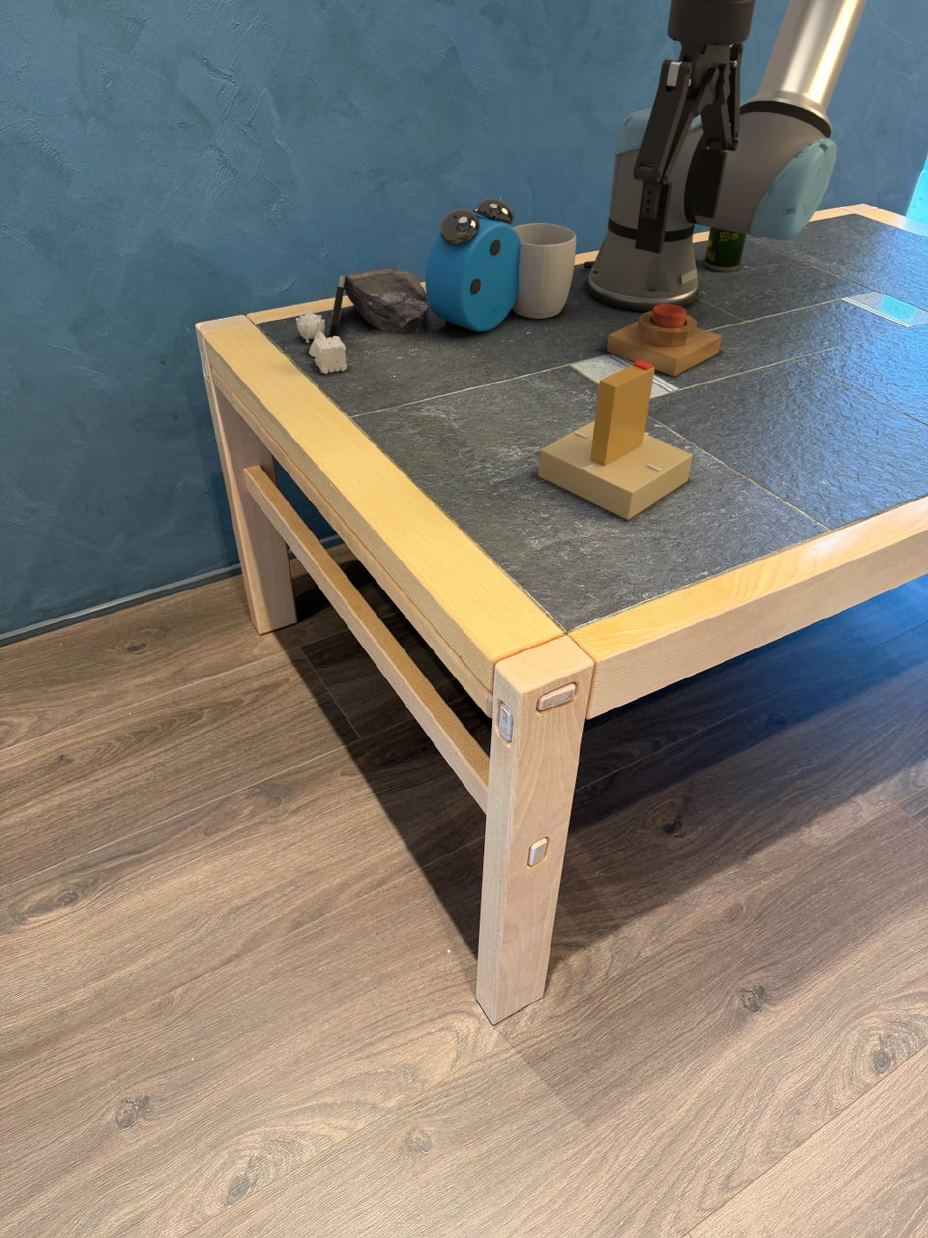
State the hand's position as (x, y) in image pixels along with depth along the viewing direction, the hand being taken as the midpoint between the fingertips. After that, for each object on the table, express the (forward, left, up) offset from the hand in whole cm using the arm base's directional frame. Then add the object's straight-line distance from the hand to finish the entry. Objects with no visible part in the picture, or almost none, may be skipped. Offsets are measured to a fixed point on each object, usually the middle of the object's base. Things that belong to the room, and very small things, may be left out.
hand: (676, 232), depth 96 cm
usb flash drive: (-38, -16, -16) cm, 44 cm away
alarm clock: (-26, -3, -17) cm, 31 cm away
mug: (-25, +6, -17) cm, 31 cm away
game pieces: (-33, -23, -17) cm, 44 cm away
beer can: (-16, +41, -17) cm, 47 cm away
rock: (-33, -7, -18) cm, 38 cm away
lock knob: (+10, -21, -14) cm, 27 cm away
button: (-4, +8, -13) cm, 16 cm away
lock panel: (+10, -21, -17) cm, 29 cm away
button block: (-4, +8, -17) cm, 19 cm away
